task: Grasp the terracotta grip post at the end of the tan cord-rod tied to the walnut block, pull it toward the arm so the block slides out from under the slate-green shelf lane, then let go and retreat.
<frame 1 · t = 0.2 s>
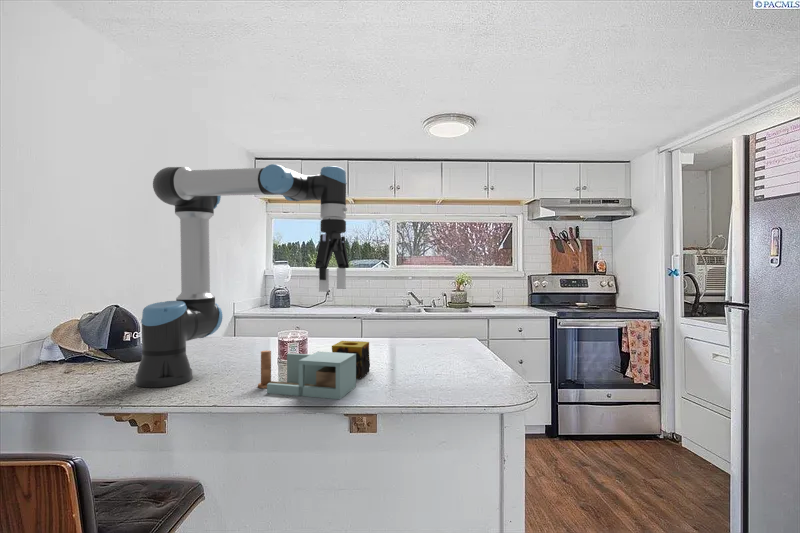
hand: (332, 290, 135), 27 cm above the countertop, fingers open, 13 cm apart
tethered block: (299, 371, 127), point 5 cm above the countertop, slide at 0.0 cm
shelf lane: (310, 389, 126), on the countertop
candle: (351, 375, 143), on the countertop
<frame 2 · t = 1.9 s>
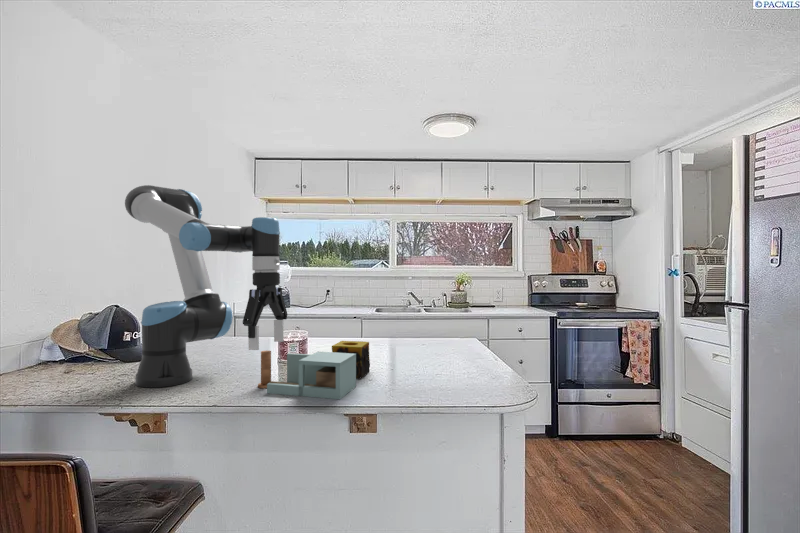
hand: (266, 345, 129), 12 cm above the countertop, fingers open, 13 cm apart
nothing on the countertop moved.
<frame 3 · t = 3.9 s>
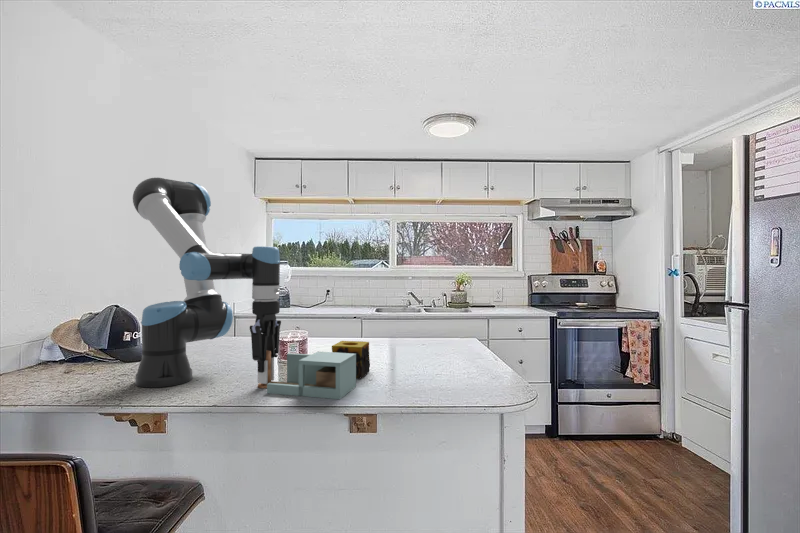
hand: (265, 381, 130), 1 cm above the countertop, fingers closed on tethered block, 3 cm apart
tethered block: (299, 371, 127), point 5 cm above the countertop, slide at 0.0 cm, touching gripper
everything else where it was.
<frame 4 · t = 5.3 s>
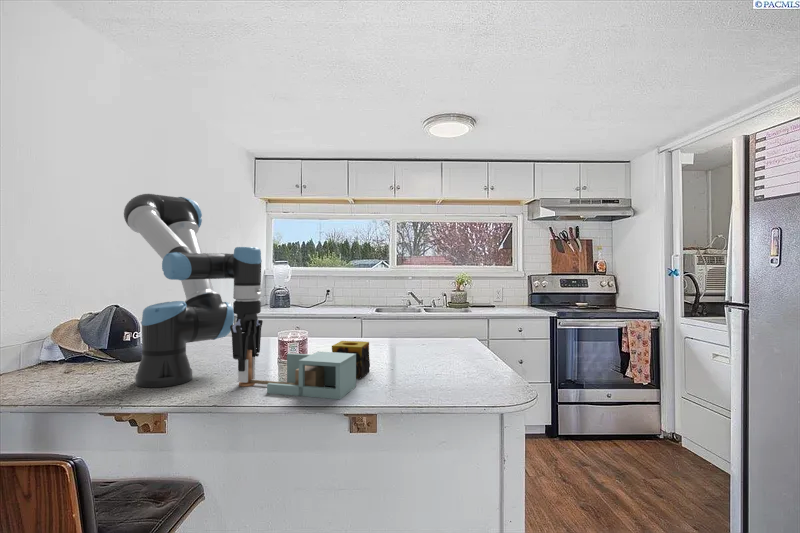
hand: (246, 380, 131), 1 cm above the countertop, fingers closed on tethered block, 3 cm apart
tethered block: (279, 369, 129), point 5 cm above the countertop, slide at 6.2 cm, touching gripper
everything else where it was.
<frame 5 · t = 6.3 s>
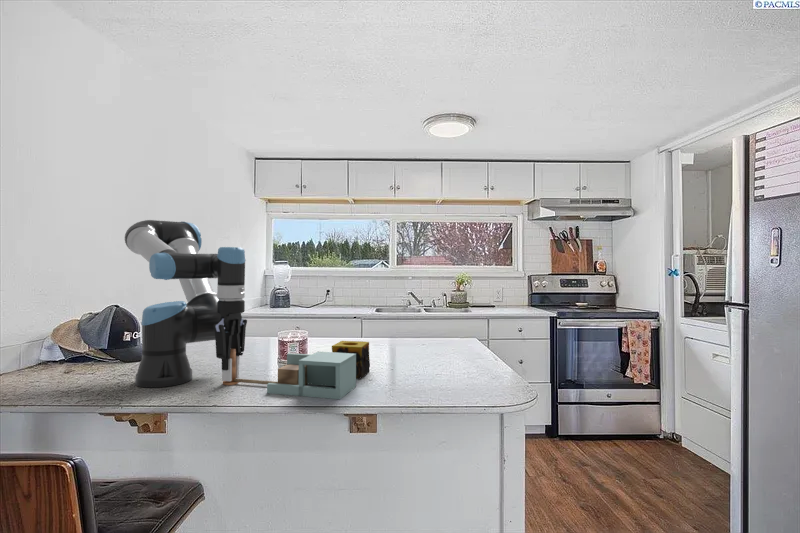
hand: (230, 379, 132), 1 cm above the countertop, fingers closed on tethered block, 3 cm apart
tethered block: (262, 368, 130), point 5 cm above the countertop, slide at 11.5 cm, touching gripper
everything else where it was.
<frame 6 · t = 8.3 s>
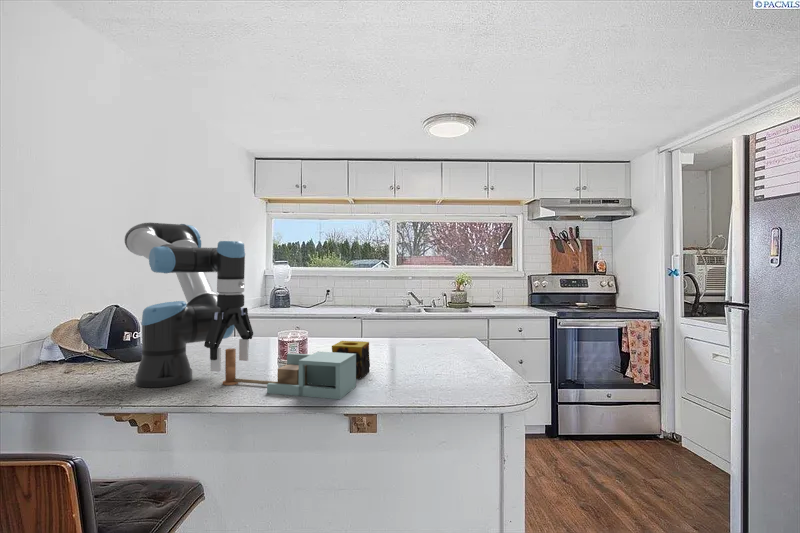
hand: (230, 365, 133), 5 cm above the countertop, fingers open, 13 cm apart
tethered block: (262, 368, 130), point 5 cm above the countertop, slide at 11.6 cm
everything else where it was.
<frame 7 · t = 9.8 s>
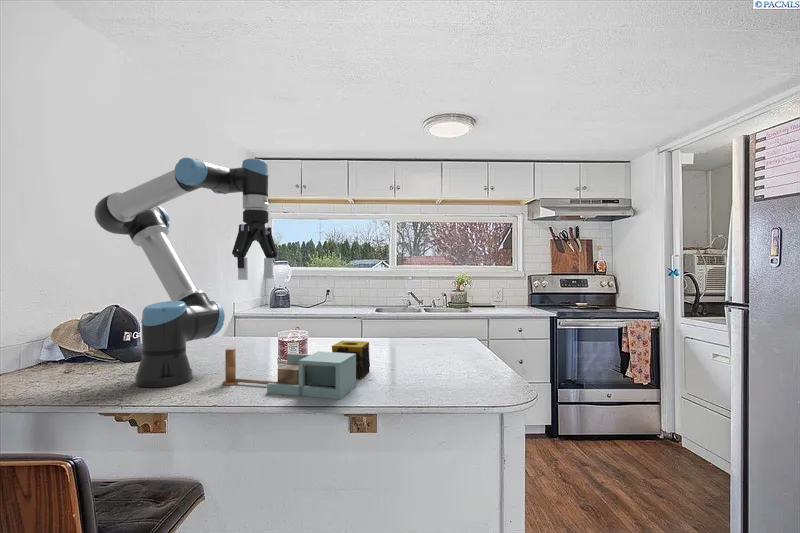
hand: (256, 279, 139), 30 cm above the countertop, fingers open, 13 cm apart
nothing on the countertop moved.
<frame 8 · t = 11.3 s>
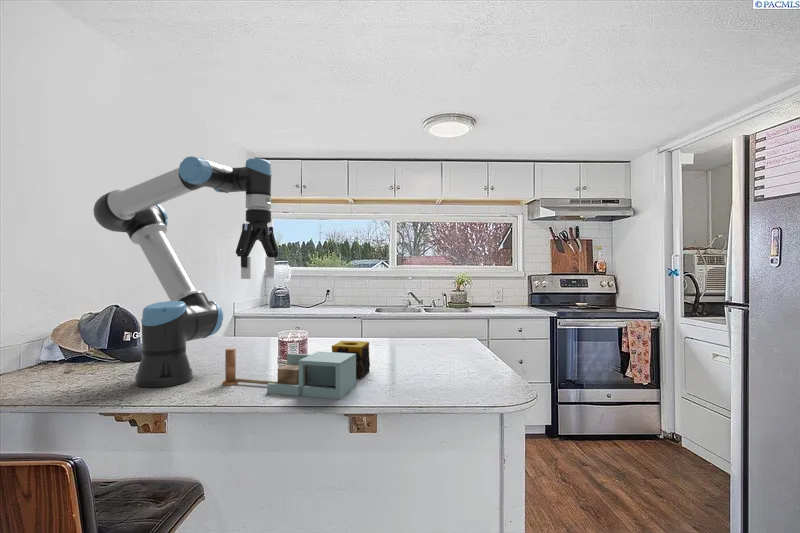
hand: (258, 278, 140), 31 cm above the countertop, fingers open, 13 cm apart
nothing on the countertop moved.
at the end: tethered block slide at 11.6 cm; the gripper is holding nothing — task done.
